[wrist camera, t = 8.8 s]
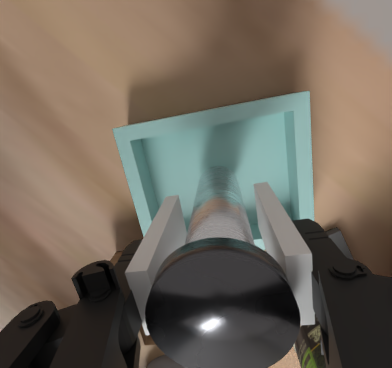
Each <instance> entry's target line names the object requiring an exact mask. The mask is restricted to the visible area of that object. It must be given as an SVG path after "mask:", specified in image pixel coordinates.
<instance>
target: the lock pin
mask: <svg viewBox="0 0 392 368" xmlns="http://www.w3.org/2000/svg"><path fill="white" fill-rule="evenodd" d="M145 321H146V325H147V329H148V331H149V334H150V336H151V338H152V339H153V341H154V343H155V344H156V345H157V346H158V348H159V349H160V350H161V351H162V352H163V353H164V354H165V355H167V356H168V357H169V358H170V359H172V360H173V361H175V362H176V363H178V364H180V365H182V366H184V367H186V368H268V367H270V366H271V365H273V364H275V363H276V362H278V361H279V360H281V359H282V358H283V357H284V356H285V355H286V354H287V353H288V352H289V351H290V349H291V348H292V347H293V345H294V343H295V342H296V339H297V337H298V334H299V330H300V321H301V317H300V311H299V307H298V304H297V302H296V299H295V297H294V294H293V291H292V289H291V286H290V284H289V281H288V279H287V277H286V274H285V273H284V271H283V269H282V267H281V266H280V265H279V263H278V262H277V261H276V260H275V259H274V258H273V257H272V256H271V255H269V254H268V253H267V252H265V251H264V250H262V249H261V248H259V247H257V246H255V243H254V240H253V236H252V232H251V228H250V224H249V221H248V217H247V213H246V209H245V205H244V202H243V198H242V194H241V190H240V187H239V183H238V179H237V177H236V175H235V174H234V172H233V171H231V170H230V169H228V168H226V167H223V166H214V167H211V168H209V169H207V170H206V171H205V172H204V173H203V174H202V175H201V177H200V180H199V184H198V188H197V192H196V197H195V201H194V206H193V210H192V214H191V219H190V223H189V227H188V232H187V236H186V241H185V245H183V246H181V247H180V248H178V249H176V250H175V251H174V252H172V253H171V254H170V255H169V256H168V257H167V258H166V259H165V260H164V261H163V263H162V264H161V266H160V267H159V269H158V271H157V273H156V276H155V279H154V282H153V285H152V287H151V290H150V293H149V296H148V299H147V302H146V307H145Z"/></svg>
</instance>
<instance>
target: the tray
mask: <svg viewBox="0 0 392 368" xmlns="http://www.w3.org/2000/svg"><path fill="white" fill-rule="evenodd" d="M112 130H113V133H114V137H115V140H116V144H117V147H118V151H119V154H120V157H121V161H122V164H123V168H124V171H125V175H126V178H127V182H128V185H129V188H130V192H131V195H132V199H133V202H134V206H135V209H136V213H137V216H138V220H139V223H140V226H141V230H142V233H143V237H144V236H145V234H146V232H147V230H148V229H149V227H150V225H151V223H152V221H153V219H154V218H155V216H156V214H157V212H158V210H159V208H160V206H161V205H162V203H163V201H164V199H165V197H167V196H174V195H179V200H180V204H181V209H182V213H183V217H184V222H185V226H186V231H187V232H188V227H189V223H190V219H191V214H192V210H193V206H194V201H195V197H196V192H197V188H198V184H199V180H200V177H201V175H202V174H203V173H204V172H205V171H206V170H207V169H209V168H211V167H214V166H223V167H226V168H228V169H230V170H231V171H233V172H234V174H235V175H236V177H237V179H238V183H239V187H240V190H241V194H242V198H243V202H244V205H245V209H246V213H247V217H248V221H249V224H250V228H251V232H252V236H253V240H254V243H255V246H257V247H259V248H261V249H262V250H266V249H265V246H264V242H263V239H262V236H261V233H260V230H259V227H258V219H257V210H256V202H255V194H254V185H253V184H256V183H262V182H268V184H269V185H270V187H271V189H272V190H273V192H274V193H275V195H276V197H277V198H278V200H279V201H280V203H281V205H282V206H283V208H284V209H285V211H286V213H287V214H288V216H289V217H290V219H291V221H292V220H300V219H308V218H309V219H310V220H312V221H314V198H313V171H312V145H311V118H310V92H309V91H303V92H295V93H290V94H285V95H279V96H274V97H269V98H264V99H259V100H254V101H248V102H243V103H238V104H233V105H228V106H223V107H218V108H212V109H207V110H202V111H197V112H192V113H187V114H182V115H176V116H171V117H166V118H161V119H156V120H151V121H145V122H140V123H135V124H130V125H126V126H122V127H118V128H114V129H112Z"/></svg>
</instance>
